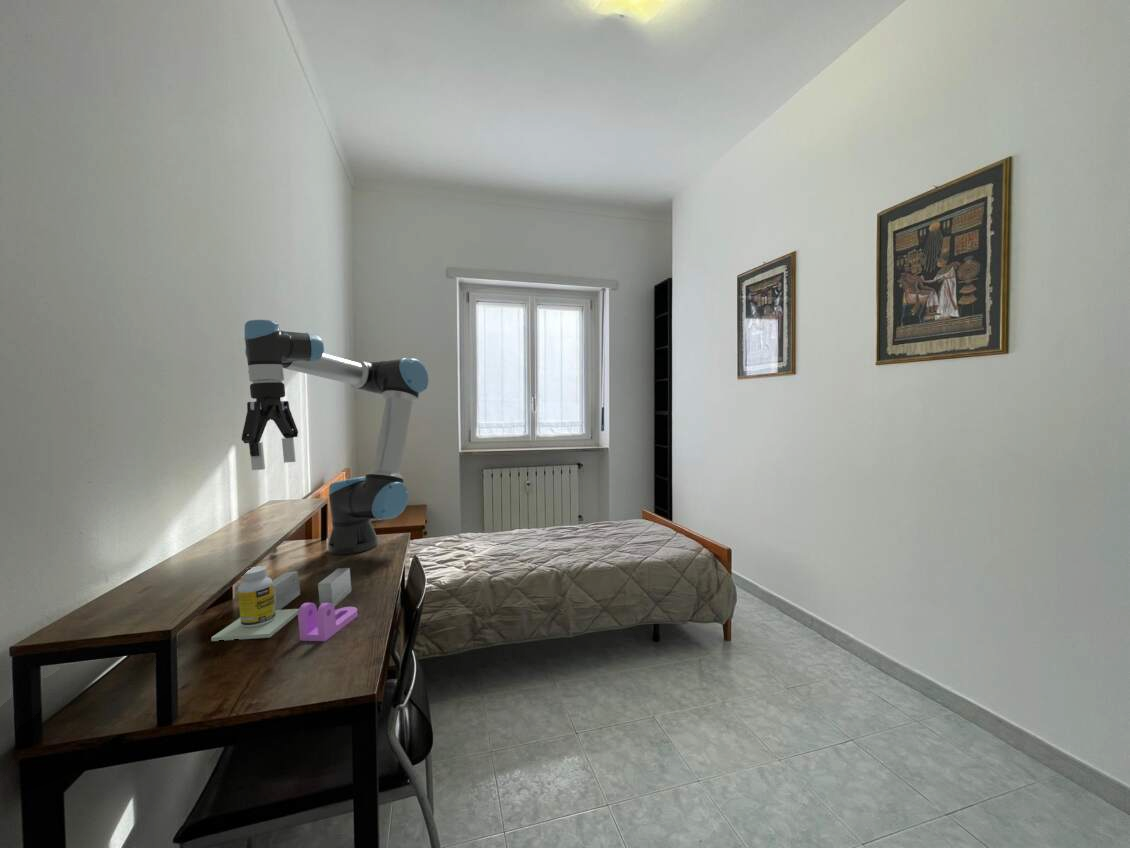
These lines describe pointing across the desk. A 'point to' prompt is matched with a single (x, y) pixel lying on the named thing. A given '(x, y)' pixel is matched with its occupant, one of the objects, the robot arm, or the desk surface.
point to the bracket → (322, 620)
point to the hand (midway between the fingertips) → (275, 465)
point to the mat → (261, 631)
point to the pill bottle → (256, 598)
